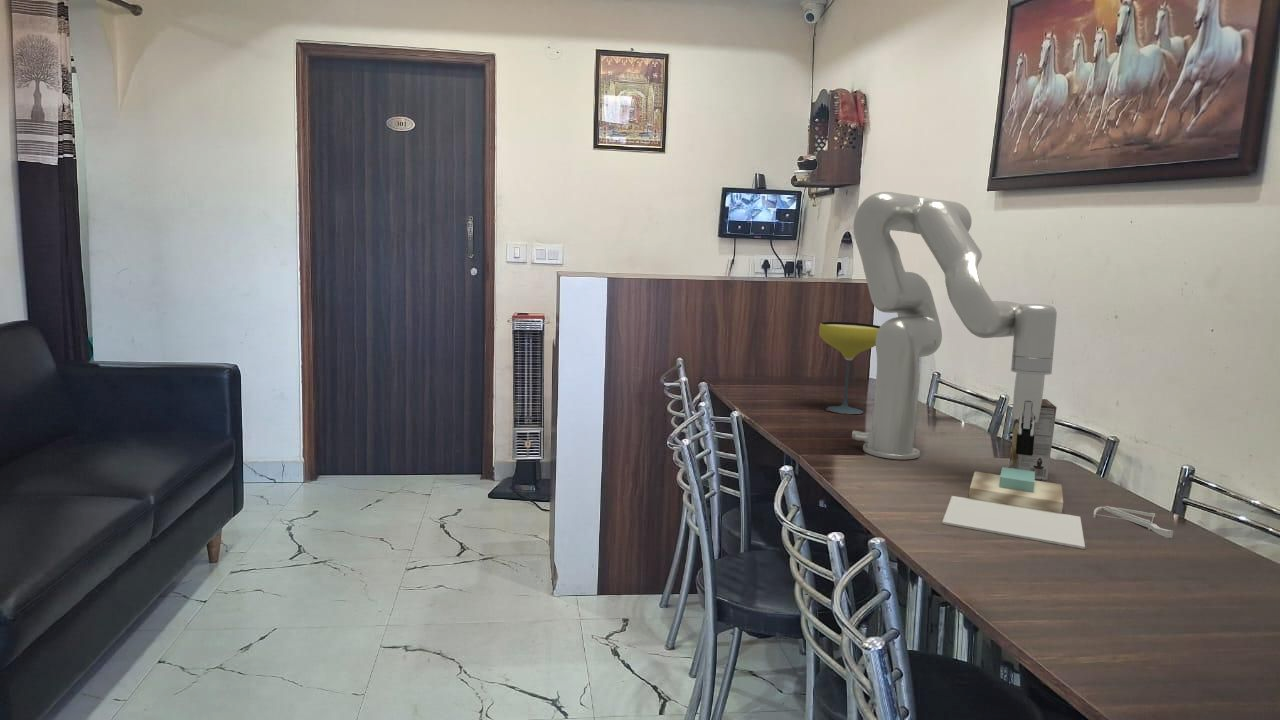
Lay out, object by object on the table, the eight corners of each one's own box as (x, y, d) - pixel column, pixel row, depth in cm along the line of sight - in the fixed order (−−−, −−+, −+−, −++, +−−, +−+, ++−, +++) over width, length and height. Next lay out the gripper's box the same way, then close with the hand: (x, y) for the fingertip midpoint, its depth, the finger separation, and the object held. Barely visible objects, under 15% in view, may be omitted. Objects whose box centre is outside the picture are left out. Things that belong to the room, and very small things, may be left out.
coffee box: (1007, 466, 190) (1015, 396, 188) (1038, 469, 189) (1046, 398, 186) (1016, 477, 181) (1025, 403, 179) (1049, 480, 180) (1058, 406, 177)
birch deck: (968, 500, 162) (969, 487, 162) (973, 483, 175) (974, 471, 174) (1061, 515, 155) (1063, 502, 155) (1059, 496, 168) (1061, 484, 168)
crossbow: (1073, 514, 161) (1074, 504, 160) (1132, 514, 163) (1133, 503, 163) (1137, 539, 145) (1138, 527, 145) (1201, 538, 147) (1202, 526, 147)
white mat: (942, 523, 147) (942, 521, 147) (951, 497, 163) (951, 495, 163) (1084, 549, 138) (1085, 546, 138) (1079, 518, 154) (1080, 516, 154)
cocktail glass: (837, 418, 234) (845, 328, 230) (800, 405, 250) (806, 321, 247) (890, 416, 241) (898, 329, 237) (850, 404, 257) (857, 321, 254)
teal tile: (999, 487, 163) (1000, 477, 163) (1001, 476, 171) (1002, 466, 171) (1033, 492, 161) (1034, 482, 160) (1033, 481, 169) (1034, 471, 168)
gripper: (1012, 360, 180) (1005, 445, 183) (1010, 367, 167) (1002, 459, 169) (1051, 363, 177) (1044, 449, 179) (1052, 370, 164) (1044, 463, 166)
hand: (1024, 453), depth 174 cm, fingers closed
